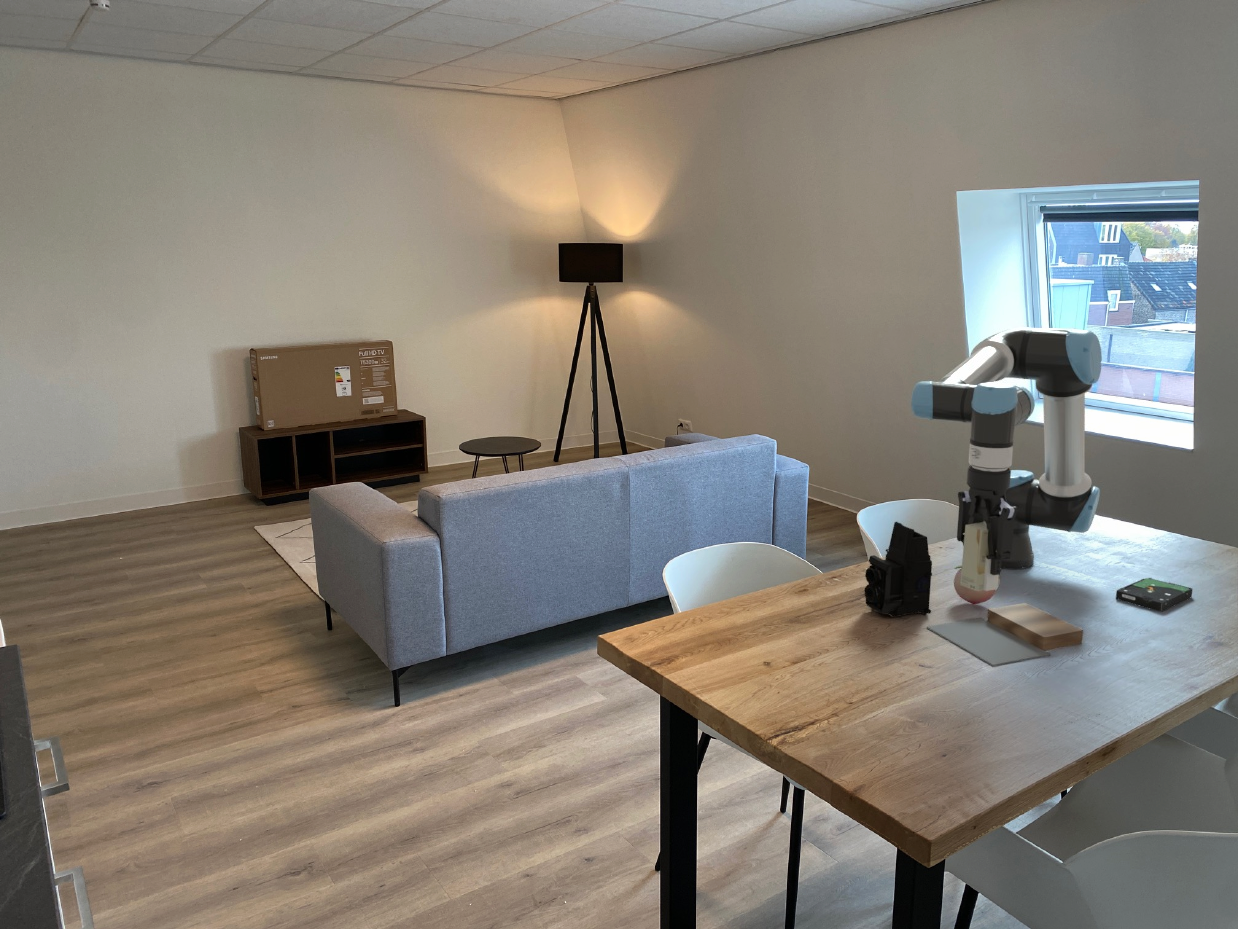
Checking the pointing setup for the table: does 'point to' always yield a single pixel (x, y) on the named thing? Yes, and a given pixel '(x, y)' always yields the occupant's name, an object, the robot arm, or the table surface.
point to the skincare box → (975, 556)
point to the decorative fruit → (970, 591)
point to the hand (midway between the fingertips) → (980, 584)
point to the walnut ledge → (1035, 626)
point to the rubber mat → (988, 641)
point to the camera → (900, 575)
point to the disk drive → (1154, 594)
